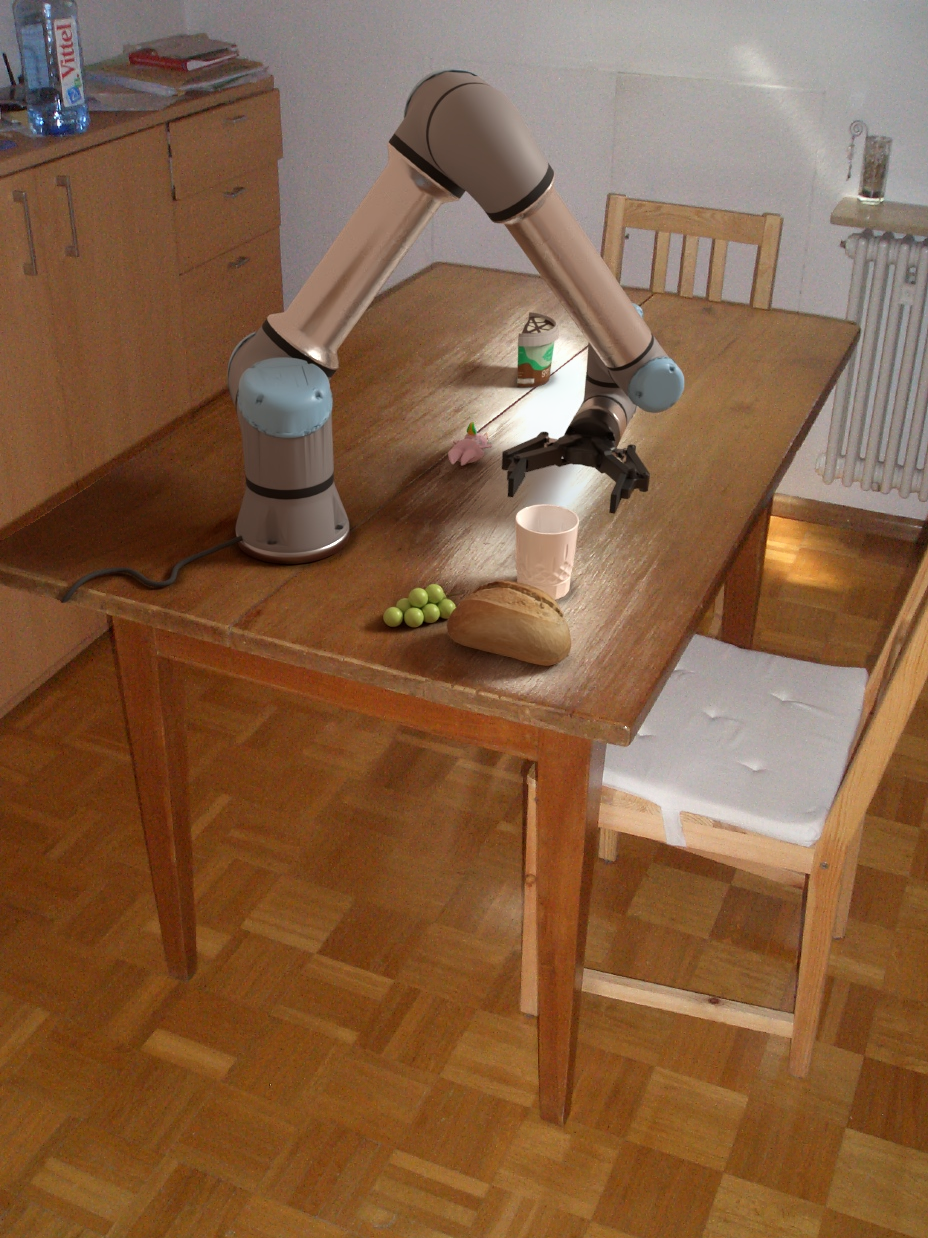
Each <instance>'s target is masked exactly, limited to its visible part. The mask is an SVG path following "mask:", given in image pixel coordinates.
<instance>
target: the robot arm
mask: <svg viewBox="0 0 928 1238" xmlns="http://www.w3.org/2000/svg"><path fill="white" fill-rule="evenodd" d="M386 145H387V153H388V163H387V164H386V166H385V167H384V168H383V170H382V171H381V173H380V174H379V175H378V177H377V178H376V180H375V181H374V183H372V186H371V187H370V189H369V190H368V192H367V193H366V195H365V196H364V197H363V198H362V200H361V202H360V203H359V204H358V206H357V207H356V209H355V211H353V213H352V215H351V216H350V218H349V219H348V220H347V222H346V223H345V225H344V226H343V228H342V229H341V230H340V232H339V233H338V235H337V236H336V238H335V239H334V241H333V242H332V243H331V245H330V247H329V248H328V249H327V251H326V252H325V254H324V255H323V257H322V258H321V259H320V260H319V262H318V263H317V265H316V267H315V268H314V270H313V271H312V273H311V274H310V275H309V277H308V278H307V279H306V281H305V283H304V284H303V286H302V287H301V288H300V290H299V291H298V292H297V294H296V296H295V297H294V299H293V300H292V302H291V303H290V304H289V306H288V307H287V308H286V310H284V311H282V312H277V313H270V314H269V315H268V316H267V317H266V318H265V320H264V321H263V322H262V325H261V326H260V327H259V329H257V331H254V332H251V333H249V334H248V335H246V336H245V337H243V338H242V339H241V340H240V341H239V342H238V343H237V344H236V346H235V347H234V349H233V351H232V353H231V354H230V357H229V360H228V364H227V373H226V381H227V384H226V385H227V389H228V391H229V397H230V399H231V400H232V402H233V405H234V409H235V413H236V416H237V420H238V424H239V427H240V433H241V441H242V452H243V465H244V475H245V490H244V494H243V497H242V501H241V504H240V508H239V512H238V516H237V519H236V524H235V537H233V538H231V539H229V540H227V541H224V542H222V543H219V544H217V545H215V546H212V547H210V548H208V549H205V550H202V551H199V552H197V553H194V554H192V555H189V556H187V557H185V558H183V559H182V560H180V561H178V562H177V563H176V564H175V565H174V566H173V568H172V570H171V573H170V577H169V578H168V579H166V580H161V581H155V580H151V579H150V578H148V577H146V576H145V575H143V574H142V573H141V572H140V571H137V570H136V569H134V568H131V567H126V566H124V567H110V568H104V569H99V570H95V571H92V572H89V573H87V574H85V575H83V576H82V577H80V578H79V579H78V580H76V582H75V583H73V584H72V585H71V587H69V589H68V590H67V592H65V594H64V595H63V596H62V598H61V600H60V604H65V603H67V602H69V600H70V599H71V597H72V596H73V595H74V594H75V593H76V592H77V590H79V588H80V587H81V586H83V585H84V584H86V582H88V581H89V580H91V579H94V578H97V577H100V576H105V575H109V574H110V575H112V574H121V573H123V574H129V575H132V576H133V577H135V578H137V579H138V580H139V581H140V582H141V583H143V584H145V585H147V586H149V587H152V588H164V587H168V586H171V585H173V584H174V583H175V582H176V579H177V576H178V573H179V570H180V569H181V568H183V567H184V566H186V565H187V564H190V563H192V562H194V561H196V560H199V559H202V558H205V557H207V556H210V555H212V554H214V553H216V552H220V551H221V550H224V549H226V548H229V547H231V546H234V545H235V544H237V546H238V548H239V549H240V550H241V551H242V552H243V553H244V554H246V555H248V556H250V557H252V558H254V559H256V560H260V561H261V562H262V561H263V562H267V563H273V564H283V565H294V564H295V565H296V564H307V563H311V562H316V561H319V560H323V559H326V558H328V557H331V556H332V555H335V554H336V553H338V552H339V551H342V549H343V548H344V547H345V546H346V545H347V544H348V542H349V540H350V536H351V535H350V532H351V531H350V530H351V529H350V520H349V517H348V514H347V512H346V510H345V507H344V505H343V502H342V499H341V497H340V494H339V492H338V489H337V487H336V485H335V469H334V468H335V466H334V465H335V464H334V443H333V441H334V440H333V439H334V438H333V416H332V415H333V413H332V412H333V404H334V400H333V393H332V390H331V385H330V383H331V382H330V381H331V379H332V378H333V376H334V375H335V374H336V372H337V371H338V369H339V368H340V360H339V355H338V350H339V348H340V347H341V345H343V343H344V341H345V340H346V339H347V338H348V336H349V335H350V333H351V332H352V330H353V329H354V327H355V326H356V324H358V322H359V320H360V319H361V317H362V316H363V315H364V313H365V312H366V311H367V309H368V308H369V307H370V305H371V304H372V302H373V301H374V300H375V298H376V297H377V295H378V294H379V293H380V291H381V289H382V288H383V287H384V285H386V283H387V281H388V280H389V279H390V277H391V276H392V274H393V273H394V272H395V270H397V268H398V266H399V265H400V263H401V262H402V261H403V260H404V258H405V256H406V255H407V254H408V252H409V251H410V249H411V248H412V247H413V245H414V244H415V242H416V241H417V239H418V238H419V237H420V235H421V234H422V232H423V231H424V230H425V229H426V227H427V225H428V224H429V223H430V221H431V220H432V219H433V217H434V216H435V214H436V213H437V211H438V210H439V209H440V207H441V205H444V204H447V203H453V202H458V201H460V200H461V199H462V197H463V196H464V194H465V193H467V194H468V195H469V196H470V197H471V198H472V199H473V200H474V201H475V202H476V203H477V205H479V206H480V207H481V209H482V210H483V212H484V213H485V214H486V216H487V217H488V218H489V219H490V221H491V222H492V223H494V224H500V225H504V227H505V229H507V231H508V232H509V234H510V235H511V236H512V238H513V239H514V240H515V242H516V243H517V244H518V246H519V247H520V248H521V250H522V251H523V253H524V254H525V256H526V257H527V258H528V260H529V262H531V264H532V265H533V267H534V268H535V270H536V271H537V272H538V274H539V275H540V277H541V278H542V279H543V281H544V282H545V283H546V285H547V286H548V287H549V289H550V290H551V292H552V293H553V295H554V296H555V298H556V299H557V300H558V302H559V303H560V304H561V306H562V307H563V308H564V310H565V311H566V313H567V314H568V315H569V317H570V318H571V320H572V321H573V322H574V324H575V325H576V327H577V328H578V329H579V331H580V332H581V333H582V335H583V336H584V338H585V339H586V340H587V343H588V344H587V356H586V357H587V359H586V371H585V381H584V392H583V393H584V396H583V401H582V402H581V405H580V406H579V408H578V410H577V411H576V413H575V414H574V416H573V418H572V419H571V421H570V423H569V425H568V427H567V428H566V430H565V431H564V434H563V435H562V436H560V437H558V439H557V438H552V437H550V436H549V435H550V433H549V432H548V431H540V432H539V433H538V435H537V436H535V437H533V438H531V439H528V440H526V441H523V442H521V443H519V444H517V445H514V446H512V447H510V448H507V449H505V450H503V451H502V452H501V454H502V455H501V470H502V471H506V479H507V480H506V481H507V498H514V497H515V495H516V493H517V492H518V490H519V489H520V487H521V486H522V484H523V482H524V480H525V479H526V475H527V473H531V472H535V471H536V470H537V471H538V470H541V469H545V468H549V467H552V466H555V467H558V468H561V467H564V466H569V465H572V466H573V465H576V466H577V465H578V466H584V467H589V468H594V469H595V470H596V471H598V472H599V473H600V474H605V475H606V476H607V477H609V478H610V479H611V480H612V481H614V482H615V484H614V487H613V489H612V491H611V493H610V499H609V511H608V513H609V514H612V515H613V514H614V515H615V514H616V512H617V510H618V508H619V505H620V503H621V502H622V499H623V500H629V499H630V498H631V496H632V494H633V492H635V490H638V491H639V492H641V493H646V492H648V491H649V486H650V479H651V473H650V472H649V470H648V469H647V466H645V463H644V462H643V461H642V459H641V458H640V456H639V455H638V453H637V451H636V450H637V445H635V444H627V445H626V446H627V447H623V448H618V447H619V445H620V442H621V440H622V438H623V436H624V434H625V432H626V430H627V428H628V425H629V423H630V422H631V420H632V419H633V417H634V415H635V414H636V412H637V408H639V409H641V410H642V411H644V412H647V413H650V414H657V413H662V412H665V411H668V410H669V409H670V408H672V407H673V406H674V405H676V404H677V403H678V401H679V400H680V398H681V397H682V395H683V393H684V389H685V376H684V374H683V371H682V369H681V368H680V367H679V366H678V364H677V363H676V361H675V360H674V359H673V358H672V357H671V358H670V357H669V356H668V354H667V353H666V351H665V350H664V348H663V347H662V346H661V343H660V342H659V341H658V340H657V338H656V337H655V335H653V333H652V331H651V329H650V328H649V326H648V325H647V323H646V322H645V320H644V311H643V308H641V306H639V305H638V304H637V303H635V302H632V301H631V299H630V298H629V296H628V295H627V293H626V292H625V290H624V289H623V287H622V286H621V284H620V283H619V282H618V280H617V278H616V277H615V275H614V273H612V270H611V269H610V268H609V267H608V265H607V264H606V262H605V260H604V259H603V257H602V256H601V254H600V253H599V251H598V250H597V249H596V247H595V245H594V244H593V243H592V241H591V239H590V238H589V237H588V235H587V234H586V232H585V231H584V230H583V228H582V226H581V225H580V223H579V222H578V220H577V218H576V217H575V216H574V215H573V213H572V211H571V210H570V208H569V207H568V206H567V203H566V202H565V201H564V199H563V198H562V197H561V195H560V194H559V192H558V190H557V189H556V187H555V186H554V185H555V180H556V173H555V170H554V169H553V168H552V166H551V165H550V163H549V161H548V159H547V158H546V157H545V155H544V153H543V152H542V150H541V148H540V146H539V145H538V143H537V141H536V140H535V137H534V136H533V134H532V132H531V130H530V129H529V127H528V125H527V123H526V122H525V120H524V118H523V116H522V115H521V113H520V111H519V109H518V107H517V106H516V105H515V104H514V102H513V101H512V100H511V99H510V98H509V97H508V96H507V95H506V94H505V93H504V92H502V91H501V90H499V89H498V88H496V87H494V86H492V85H491V84H490V83H489V82H487V81H486V80H485V79H484V78H482V77H481V76H479V75H478V74H477V73H475V72H472V71H469V70H466V69H459V68H454V67H450V68H449V67H448V68H442V69H438V70H435V71H432V72H430V73H427V74H426V75H425V76H423V77H422V78H421V79H420V80H419V81H417V82H416V84H415V85H414V86H413V87H412V89H411V91H410V92H409V94H408V97H407V98H406V102H405V106H404V110H403V119H402V121H401V123H399V125H398V127H397V128H396V130H395V131H394V133H393V134H392V136H391V137H390V139H389V140H388V141H387V143H386Z"/></svg>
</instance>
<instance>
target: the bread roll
mask: <svg viewBox="0 0 928 1238" xmlns="http://www.w3.org/2000/svg"><path fill="white" fill-rule="evenodd" d="M569 627H570V626H569V624H568V621H567V620H566V617H565V615H564V613H563V610H562V609H561V607H560V606H559V604H558V603H557V600H554V599H553V598H552V597H551V596H550V595H549V594H547V593H546V592H544V591H542V590H540V589H538V588H536V587H533V586H530V585H527V584H523V583H519V582H517V581H513V580H495V581H491V582H488V583H485V584H481V585H479V586H478V587H477V588H476V589H475V590H473V592H471V593H469V594H468V595H466V596H465V597H463V599H462V600H461V601H460V602H459V603H458V604H457V606H456V608H455V609H454V610H453V611H452V613H451V615H450V617H449V618H448V619H447V622H446V630H447V634H448V636H449V637H450V639H451V640H453V642H454V643H456V644H459V645H461V646H463V647H467V648H472V649H475V650H479V651H482V652H488V653H491V654H496V655H499V656H504V657H508V658H512V659H515V660H518V661H522V662H525V663H528V664H529V663H530V664H534V665H539V666H548V667H549V666H552V665H557V664H558V663H560V662H562V661H564V660H565V659H566V658H567V657H569V654H570V652H571V649H572V639H571V630H570V628H569Z"/></svg>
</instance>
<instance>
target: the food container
mask: <svg viewBox="0 0 928 1238" xmlns="http://www.w3.org/2000/svg"><path fill="white" fill-rule="evenodd" d="M522 329H523V330H522V332H519V333H518V335H517V370H516V371H517V372H516V388H521V389H523V388H524V389H525V388H536V387H541V386H544V385H546V384H548V383H549V381H550V378H551V369H552V362H553V356H554V349H555V342H556V341H557V340H558V339H559V337H560V333H559V327H558V324H557V321H556V320H555V319H554V318H553V317H551V316H549V315H546V314H544V313H539V312H533V311H528V319H527V321H526V323H525V324H524V326H523V328H522Z"/></svg>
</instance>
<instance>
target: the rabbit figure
mask: <svg viewBox="0 0 928 1238" xmlns="http://www.w3.org/2000/svg"><path fill="white" fill-rule="evenodd" d="M489 441H490V440H489V437H488V431H486V432H485V433H484V434H483V433H479V432H477V429H476V426H475V422H474V421H470V423H469V424H468V426H467V427H466V434H465V435H464V438H462V439H460V440H459V441H458V440H457V439H453V440H452V443H453V444H454V446H452V448H451V449H450V450H449V451H448V453H447V457H448V460H449V462H450V464H451V465H454V464H455V463H456V462H459V463H460V466H465V465H468V464H470V463H473V462H474V463H475V462H476V461H479V460H481V459H483V457H484V456H485V453H484V451H483V450H484V449H490V448H493V444H492V443H489V444H488V442H489Z"/></svg>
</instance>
